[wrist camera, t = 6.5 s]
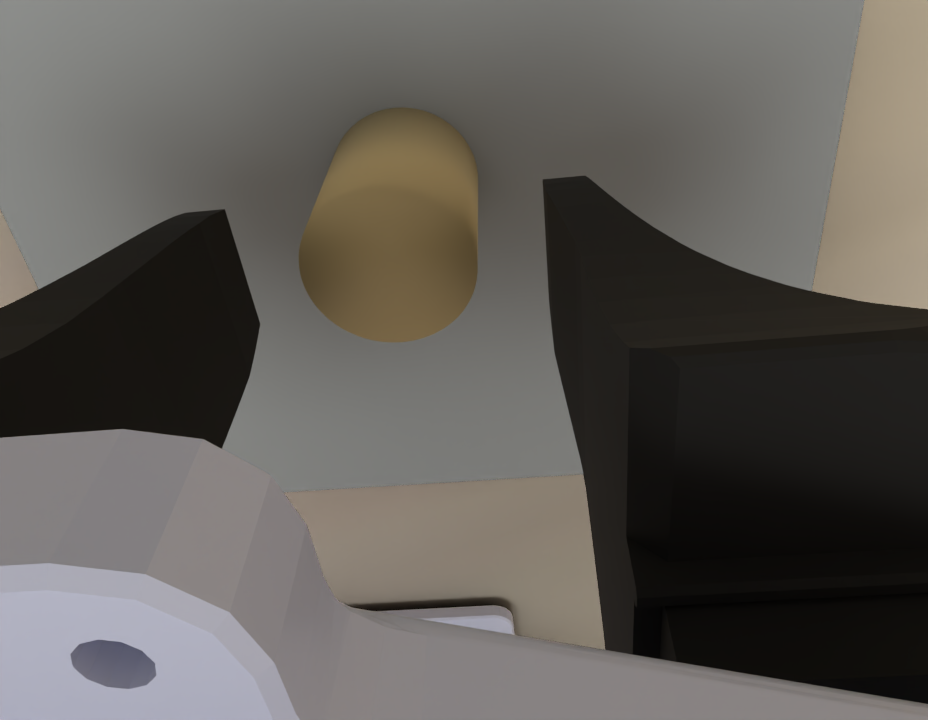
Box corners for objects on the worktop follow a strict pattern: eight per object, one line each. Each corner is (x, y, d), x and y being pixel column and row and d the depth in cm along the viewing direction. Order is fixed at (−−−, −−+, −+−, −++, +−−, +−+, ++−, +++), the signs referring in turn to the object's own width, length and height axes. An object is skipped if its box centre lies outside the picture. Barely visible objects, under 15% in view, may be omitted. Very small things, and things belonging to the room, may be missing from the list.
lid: (769, 438, 19) (830, 576, 15) (151, 477, 20) (86, 613, 16) (920, -466, 10) (1134, -585, 7) (-207, -307, 11) (-497, -346, 8)
